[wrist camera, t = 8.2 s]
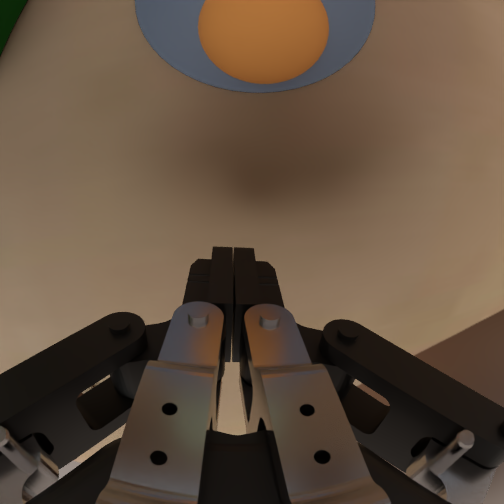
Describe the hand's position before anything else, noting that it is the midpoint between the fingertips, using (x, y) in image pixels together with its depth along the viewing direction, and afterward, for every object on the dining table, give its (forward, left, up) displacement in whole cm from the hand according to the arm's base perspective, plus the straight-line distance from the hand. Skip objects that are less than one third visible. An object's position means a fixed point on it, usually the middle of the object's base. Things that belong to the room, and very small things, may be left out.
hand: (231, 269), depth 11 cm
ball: (+1, +10, -3) cm, 10 cm away
